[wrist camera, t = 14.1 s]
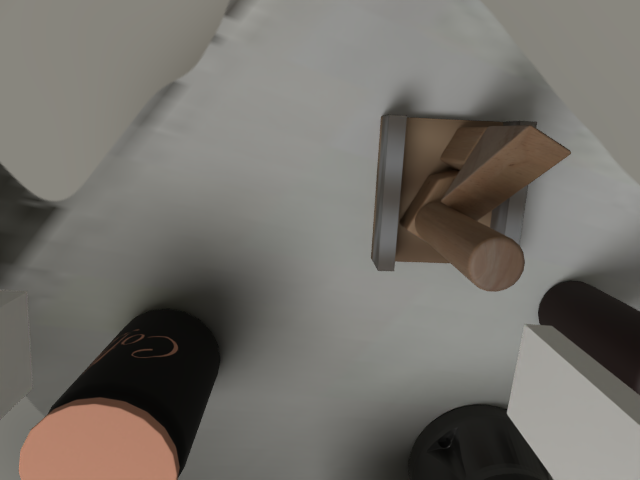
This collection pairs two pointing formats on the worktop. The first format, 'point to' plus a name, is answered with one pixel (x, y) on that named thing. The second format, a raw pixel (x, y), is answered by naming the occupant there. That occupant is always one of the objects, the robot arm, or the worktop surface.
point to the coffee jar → (130, 406)
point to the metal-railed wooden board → (409, 176)
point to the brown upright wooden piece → (480, 199)
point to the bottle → (596, 327)
